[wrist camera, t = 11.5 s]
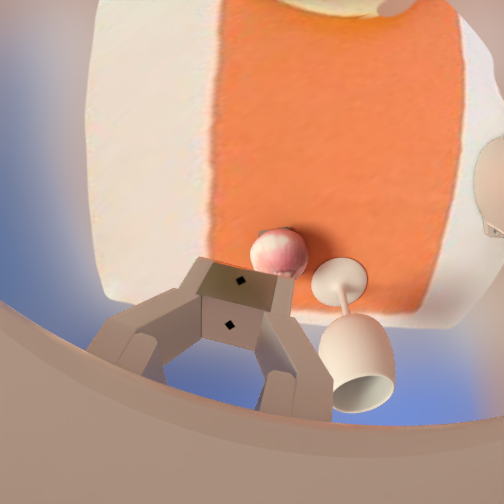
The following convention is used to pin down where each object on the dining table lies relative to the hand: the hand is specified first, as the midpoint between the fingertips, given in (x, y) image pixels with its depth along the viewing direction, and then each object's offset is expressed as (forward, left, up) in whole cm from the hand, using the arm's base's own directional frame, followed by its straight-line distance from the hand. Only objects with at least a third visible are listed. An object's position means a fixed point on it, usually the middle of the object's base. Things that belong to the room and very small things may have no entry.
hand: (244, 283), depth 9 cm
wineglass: (-12, +16, -30) cm, 35 cm away
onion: (-2, +12, -30) cm, 32 cm away
